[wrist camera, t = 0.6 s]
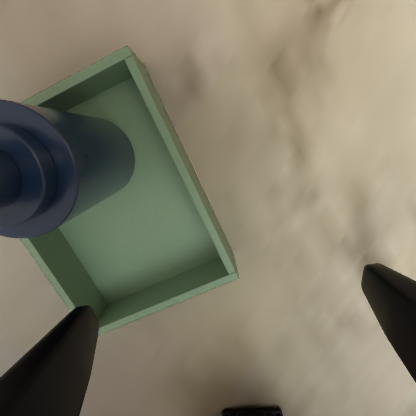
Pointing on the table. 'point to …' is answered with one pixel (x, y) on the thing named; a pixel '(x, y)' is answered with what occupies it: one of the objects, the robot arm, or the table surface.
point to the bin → (133, 208)
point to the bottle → (56, 166)
